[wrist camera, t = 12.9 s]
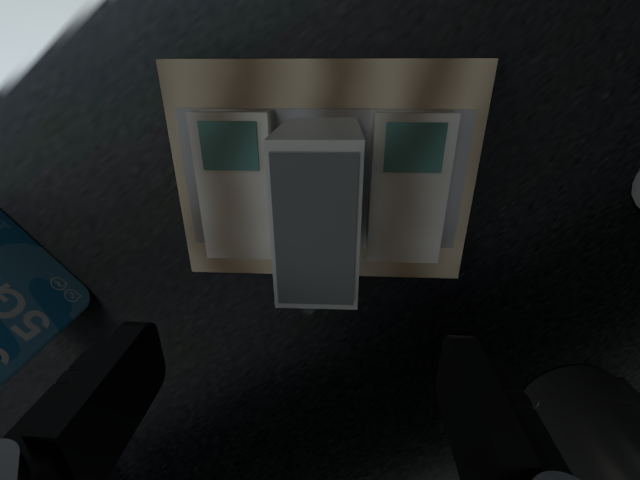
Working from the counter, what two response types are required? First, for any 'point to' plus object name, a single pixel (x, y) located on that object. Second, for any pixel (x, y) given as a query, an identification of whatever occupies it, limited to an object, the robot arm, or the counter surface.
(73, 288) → the data package
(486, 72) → the rail board
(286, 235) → the block
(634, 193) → the bottle
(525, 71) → the counter surface
